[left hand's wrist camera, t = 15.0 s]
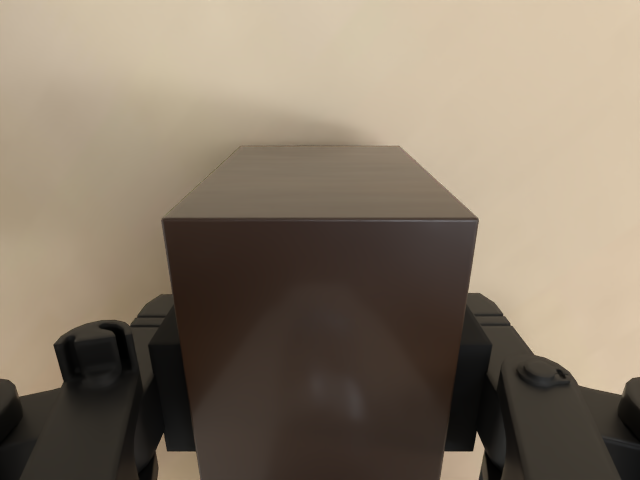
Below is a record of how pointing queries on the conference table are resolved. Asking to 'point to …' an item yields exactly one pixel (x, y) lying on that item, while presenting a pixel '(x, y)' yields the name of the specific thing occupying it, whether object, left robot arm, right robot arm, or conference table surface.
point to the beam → (320, 313)
